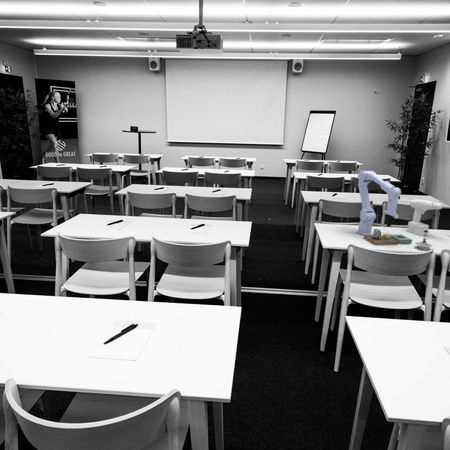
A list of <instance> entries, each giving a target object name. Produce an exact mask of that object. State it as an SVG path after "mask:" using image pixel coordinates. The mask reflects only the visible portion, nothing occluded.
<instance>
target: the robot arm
mask: <svg viewBox="0 0 450 450" xmlns="http://www.w3.org/2000/svg"><path fill="white" fill-rule="evenodd" d="M357 178H358V183H357V184H358V190H359V197H360V201H361V207H362V209H361V210H360V211H359V213H360V215H359V218H360V221H359V222H358V226H357V228H358V229H357V230H356V232H357V233H358V234H360V235H361V236H372V235H373V233H372V230H373V223H374V221H375V220H376V218H377V214H376V213H375V210H374V208H372V206H371V201H370V196H369V195H370V194H369V190H368V185H369V183H371V182H372V181H373V182H375V183H376V184H377V185H379V186H380V188H381V190H383V191H384V192H385V193H386V194H387V199H388V200H387V205H386V209H384V210H382V213H383V214H385V215H384V218H385V223H386V227H390V228H391V227H392V224H393V222H394V221H395V220H396V219H399V217H400V216H399V215H398V213H397V206H398V201H399V197H400V196H401V195H402V190H401V188H400V187H396V186H395V185H393V184H391V183H390V181H388V180H385V181H384V180H383V179H382V178H381V177H380V176H379V175H378V174H377V172H375V171H374V170H361V171H360V172H359V173H358V175H357Z"/></svg>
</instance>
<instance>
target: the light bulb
mask: <svg viewBox="0 0 450 450" xmlns="http://www.w3.org/2000/svg"><path fill="white" fill-rule="evenodd" d="M424 232H426V233H427V234H428V233H429V230H428V231H427V230H425V231H424ZM426 233H425V236H423V237H424V238H422V241H415V243H414V244H415V245H416V246H417V249H418V248H419V249H418V250H422V251H429V250H428V249H430V248H431V247H433V244H430V243H428V242H427V238H426V236H427V235H426Z"/></svg>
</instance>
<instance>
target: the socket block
mask: <svg viewBox="0 0 450 450" xmlns="http://www.w3.org/2000/svg"><path fill="white" fill-rule="evenodd" d="M363 239H364V240H365V239H366V241H368V242H369V243H371V244H372V245H374V246H390V245H391V246H394V245H395V246H398V242H397V241H395V240H393V239H392V238H390V239H384V236H383V234H382V235H380V236H379V240H373V235H363Z"/></svg>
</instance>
